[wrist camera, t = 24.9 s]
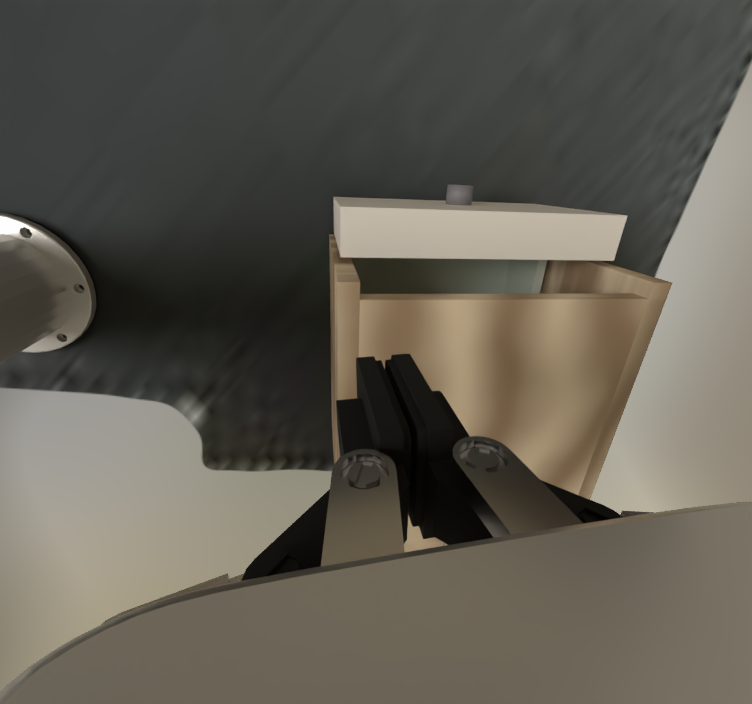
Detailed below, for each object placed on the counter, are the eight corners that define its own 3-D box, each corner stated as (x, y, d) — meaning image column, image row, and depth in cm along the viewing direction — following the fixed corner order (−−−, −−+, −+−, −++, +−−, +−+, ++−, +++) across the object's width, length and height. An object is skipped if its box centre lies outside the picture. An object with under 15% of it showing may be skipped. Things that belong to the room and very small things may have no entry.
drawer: (335, 414, 43) (340, 494, 32) (333, 179, 32) (340, 180, 22) (493, 406, 45) (547, 478, 35) (537, 187, 35) (634, 192, 24)
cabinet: (331, 423, 45) (338, 561, 29) (329, 234, 36) (337, 281, 20) (488, 415, 48) (575, 537, 32) (524, 238, 38) (672, 282, 22)
